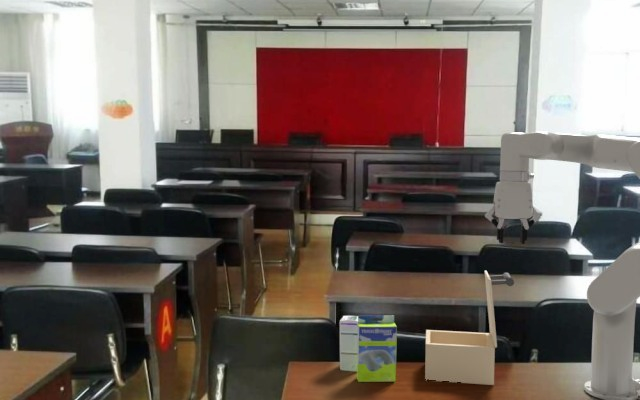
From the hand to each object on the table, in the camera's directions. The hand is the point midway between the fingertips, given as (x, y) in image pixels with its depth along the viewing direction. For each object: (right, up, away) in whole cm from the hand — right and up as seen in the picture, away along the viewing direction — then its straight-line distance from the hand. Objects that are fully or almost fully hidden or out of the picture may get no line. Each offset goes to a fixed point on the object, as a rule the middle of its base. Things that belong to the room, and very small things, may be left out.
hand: (511, 242), depth 171 cm
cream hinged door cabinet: (-15, -37, +1) cm, 40 cm away
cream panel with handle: (-7, -18, -2) cm, 19 cm away
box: (-38, -37, -4) cm, 53 cm away
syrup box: (-44, -36, +5) cm, 58 cm away
